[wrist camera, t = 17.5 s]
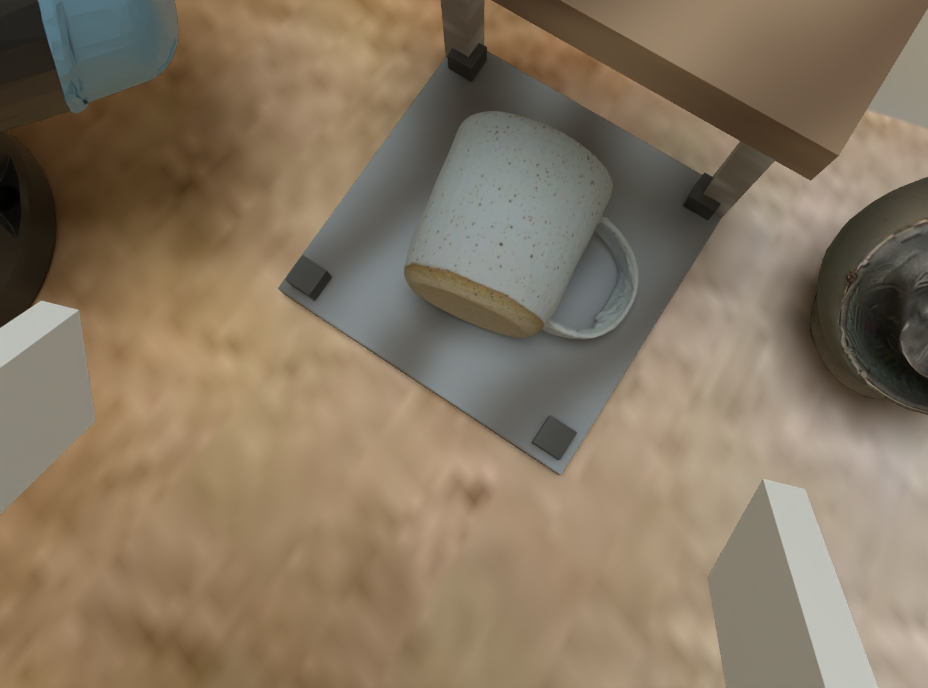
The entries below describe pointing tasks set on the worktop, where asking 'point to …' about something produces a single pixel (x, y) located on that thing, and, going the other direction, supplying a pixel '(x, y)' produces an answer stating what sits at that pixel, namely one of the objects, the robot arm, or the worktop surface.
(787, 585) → the robot arm
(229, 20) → the worktop surface
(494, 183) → the ceramic mug
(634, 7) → the shelf
